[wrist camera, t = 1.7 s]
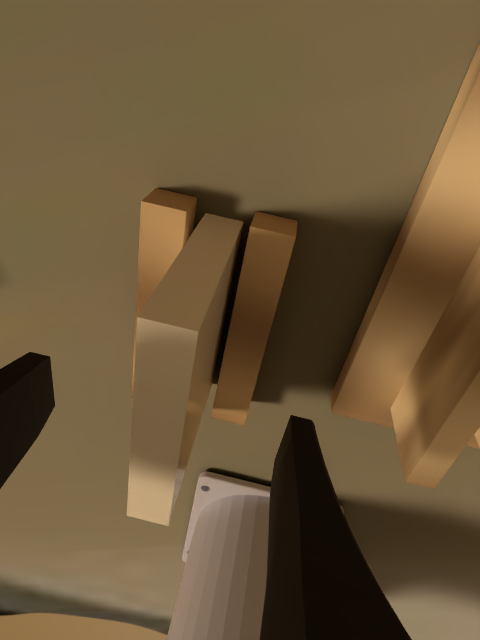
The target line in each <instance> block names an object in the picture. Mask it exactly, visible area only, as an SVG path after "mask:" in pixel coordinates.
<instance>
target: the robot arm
mask: <svg viewBox="0 0 480 640" xmlns="http://www.w3.org/2000/svg"><path fill="white" fill-rule="evenodd" d="M54 406H55V401H54V391H53V381H52V371H51V361H50V357H49V356H45V355H41V354H37V353H33V352H29V353H27V354H25V355H24V356H22V357H20V358H18V359H17V360H15V361H13V362H12V363H10V364H8V365H7V366H5V367H3V368H1V369H0V488H1V487H2V486H3V484H4V483H5V482H6V480H7V479H8V477H9V476H10V475H11V473H12V472H13V471H14V469H15V468H16V466H17V465H18V464H19V462H20V461H21V460H22V458H23V457H24V455H25V454H26V453H27V451H28V450H29V448H30V447H31V446H32V444H33V443H34V441H35V440H36V439H37V437H38V436H39V434H40V432H41V430H42V429H43V427H44V425H45V423H46V421H47V420H48V418H49V416H50V414H51V412H52V410H53V408H54ZM182 560H183V561H184V562H185V563H186V564H185V568H184V572H183V576H182V580H181V584H180V588H179V592H178V596H177V600H176V604H175V608H174V612H173V616H172V620H171V624H170V628H169V632H168V636H167V640H412V639H411V638H410V636H409V635H408V633H407V632H406V630H405V629H404V627H403V625H402V624H401V622H400V620H399V619H398V617H397V615H396V614H395V612H394V610H393V609H392V607H391V605H390V604H389V602H388V600H387V599H386V597H385V595H384V594H383V592H382V590H381V588H380V587H379V585H378V583H377V581H376V579H375V578H374V576H373V574H372V572H371V570H370V568H369V566H368V565H367V563H366V561H365V559H364V557H363V555H362V553H361V551H360V549H359V547H358V545H357V542H356V540H355V538H354V536H353V534H352V532H351V530H350V527H349V525H348V523H347V520H346V518H345V516H344V509H343V507H342V506H341V505H340V504H339V501H338V499H337V496H336V493H335V491H334V488H333V485H332V482H331V480H330V477H329V474H328V471H327V468H326V465H325V462H324V459H323V455H322V452H321V449H320V445H319V442H318V438H317V434H316V430H315V425H314V423H313V421H312V420H309V419H305V418H301V417H297V416H293V415H291V416H290V419H289V422H288V425H287V427H286V430H285V433H284V436H283V438H282V441H281V444H280V447H279V449H278V452H277V455H276V458H275V462H274V469H273V475H272V482H271V487H269V486H265V485H261V484H257V483H253V482H249V481H245V480H241V479H237V478H232V477H228V476H224V475H220V474H216V473H212V472H207V471H206V472H202V473H200V475H199V478H198V483H197V488H196V492H195V497H194V502H193V507H192V512H191V517H190V522H189V526H188V531H187V536H186V541H185V546H184V551H183V556H182Z"/></svg>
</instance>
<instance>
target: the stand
mask: <svg viewBox="0 0 480 640" xmlns="http://www.w3.org/2000/svg"><path fill="white" fill-rule="evenodd" d="M196 205H197V197H193V196H189V195H184V194H180V193H176V192H171V191H167V190H163V189H158V188H155V189H154V190H153V191H152V192H151V193H150V194H149V195H148V196H147V197H145V198H144V199H143V200H142V201H141V219H140V240H139V260H138V280H137V301H136V321H135V341H134V362H133V382H132V398H133V388H134V369H135V350H136V330H137V317H138V315H139V314H140V312H141V310H142V309H143V307H144V306H145V304H146V303H147V301H148V300H149V298H150V297H151V295H152V294H153V292H154V291H155V289H156V288H157V286H158V285H159V283H160V282H161V280H162V279H163V277H164V275H165V274H166V272H167V271H168V269H169V268H170V266H171V265H172V263H173V262H174V260H175V259H176V257H177V256H178V254H179V253H180V251H181V250H182V248H183V247H184V245H185V244H186V242H187V240H188V239H189V237H190V236H191V234H192V233H193V229H194V221H195V213H196ZM297 223H298V221H296V220H292V219H288V218H283V217H279V216H275V215H271V214H266V213H262V212H258V211H256V212H255V215H254V217H253V220H252V223H251V226H250V230H249V235H248V240H247V244H246V249H245V254H244V259H243V264H242V269H241V274H240V278H239V283H238V288H237V293H236V298H235V303H234V308H233V312H232V317H231V322H230V327H229V332H228V337H227V342H226V346H225V351H224V356H223V361H222V366H221V371H220V376H219V380H218V385H217V390H216V395H215V400H214V405H213V410H212V414H211V418H215V419H219V420H223V421H227V422H231V423H235V424H239V425H243V426H244V424H245V420H246V417H247V413H248V410H249V406H250V402H251V399H252V395H253V391H254V388H255V384H256V381H257V377H258V373H259V370H260V366H261V362H262V359H263V355H264V351H265V348H266V344H267V341H268V337H269V333H270V330H271V326H272V322H273V319H274V315H275V311H276V308H277V304H278V301H279V297H280V293H281V290H282V286H283V282H284V279H285V275H286V272H287V268H288V264H289V261H290V257H291V253H292V250H293V246H294V242H295V239H296V232H297Z"/></svg>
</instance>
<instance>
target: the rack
mask: <svg viewBox="0 0 480 640" xmlns="http://www.w3.org/2000/svg"><path fill="white" fill-rule="evenodd" d="M330 401H331V413H334V414H338V415H342V416H347V417H351V418H355V419H359V420H363V421H367V422H371V423H375V424H380V425H384V426H388V427H392V428H394V429H395V434H396V439H397V444H398V449H399V454H400V458H401V463H402V468H403V473H404V478H405V482H408V483H413V484H417V485H421V486H425V487H429V488H433V489H434V488H435V487H436V485H437V484H438V483H439V481H440V480H441V479H442V477H443V476H444V475H445V473H446V472H447V471H448V469H449V468H450V466H451V465H452V464H453V462H454V461H455V460H456V458H457V457H458V456H459V454H460V453H461V452H462V450H463V449H464V448H465V446H470V447H474V448H478V449H480V43H479V46H478V48H477V50H476V53H475V55H474V58H473V60H472V62H471V65H470V67H469V69H468V72H467V74H466V76H465V79H464V81H463V84H462V86H461V88H460V91H459V93H458V95H457V98H456V100H455V102H454V105H453V107H452V110H451V112H450V114H449V117H448V119H447V121H446V124H445V126H444V129H443V131H442V133H441V136H440V138H439V140H438V143H437V145H436V147H435V150H434V152H433V155H432V157H431V159H430V162H429V164H428V166H427V169H426V171H425V174H424V176H423V178H422V181H421V183H420V185H419V188H418V190H417V192H416V195H415V197H414V200H413V202H412V204H411V207H410V209H409V211H408V214H407V216H406V218H405V221H404V223H403V226H402V228H401V230H400V233H399V235H398V237H397V240H396V242H395V245H394V247H393V249H392V252H391V254H390V256H389V259H388V261H387V263H386V266H385V268H384V271H383V273H382V275H381V278H380V280H379V282H378V285H377V287H376V290H375V292H374V294H373V297H372V299H371V301H370V304H369V306H368V308H367V311H366V313H365V316H364V318H363V320H362V323H361V325H360V327H359V330H358V332H357V334H356V337H355V339H354V342H353V344H352V346H351V349H350V351H349V353H348V356H347V358H346V361H345V363H344V365H343V368H342V370H341V372H340V375H339V377H338V379H337V382H336V384H335V387H334V389H333V391H332V394H331V396H330Z"/></svg>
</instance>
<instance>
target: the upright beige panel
mask: <svg viewBox="0 0 480 640" xmlns="http://www.w3.org/2000/svg"><path fill="white" fill-rule="evenodd" d="M243 223H244V222H242V221H238V220H234V219H230V218H225V217H221V216H217V215H212V214H208V213H205V215H204V216H203V218H202V219H201V221H200V222H199V224H198V225H197V227H196V228H195V230H194V231H193V233H192V234H191V236H190V237H189V239H188V240H187V242H186V244H185V245H184V247H183V248H182V250H181V251H180V253H179V254H178V256H177V257H176V259H175V260H174V262H173V263H172V265H171V266H170V268H169V269H168V271H167V272H166V274H165V275H164V277H163V279H162V280H161V282H160V283H159V285H158V286H157V288H156V289H155V291H154V292H153V294H152V295H151V297H150V298H149V300H148V301H147V303H146V304H145V306H144V307H143V309H142V310H141V312H140V314H139V315H138V317H137V330H136V350H135V369H134V388H133V408H132V427H131V446H130V466H129V485H128V504H127V516H131V517H135V518H139V519H143V520H147V521H151V522H155V523H159V524H163V525H166V526H168V525H169V522H170V519H171V516H172V512H173V509H174V506H175V503H176V499H177V496H178V493H179V490H180V486H181V483H182V480H183V477H184V473H185V470H186V467H187V464H188V460H189V457H190V454H191V451H192V447H193V444H194V441H195V438H196V434H197V431H198V428H199V425H200V421H201V418H202V415H203V412H204V408H205V405H206V402H207V399H208V395H209V392H210V389H211V385H212V381H213V376H214V371H215V366H216V361H217V356H218V351H219V345H220V340H221V335H222V330H223V325H224V320H225V315H226V310H227V304H228V299H229V294H230V289H231V284H232V279H233V274H234V269H235V263H236V258H237V253H238V248H239V243H240V238H241V233H242V228H243Z"/></svg>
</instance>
